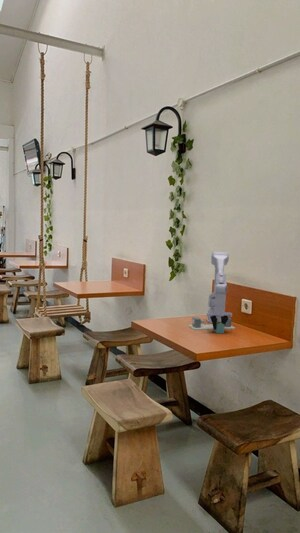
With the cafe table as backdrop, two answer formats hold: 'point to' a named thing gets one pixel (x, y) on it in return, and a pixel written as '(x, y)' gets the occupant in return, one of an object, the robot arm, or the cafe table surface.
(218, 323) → the teal block
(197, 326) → the shaft stand
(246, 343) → the cafe table surface
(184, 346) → the cafe table surface
